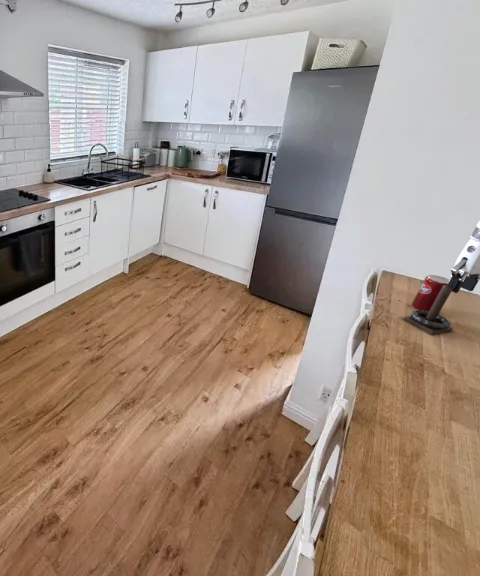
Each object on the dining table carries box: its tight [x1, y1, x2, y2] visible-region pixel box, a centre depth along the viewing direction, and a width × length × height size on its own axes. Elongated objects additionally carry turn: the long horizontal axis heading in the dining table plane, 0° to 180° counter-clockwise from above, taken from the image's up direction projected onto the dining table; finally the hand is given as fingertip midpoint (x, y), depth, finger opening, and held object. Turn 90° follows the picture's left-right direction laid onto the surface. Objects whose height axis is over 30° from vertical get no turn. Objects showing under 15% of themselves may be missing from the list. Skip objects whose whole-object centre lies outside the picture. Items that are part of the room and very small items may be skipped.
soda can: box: [411, 274, 451, 311], centre depth 128 cm, size 7×7×12 cm
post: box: [403, 285, 454, 336], centre depth 118 cm, size 9×9×14 cm
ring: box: [410, 309, 452, 329], centre depth 120 cm, size 10×10×2 cm
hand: (459, 289), depth 116 cm, fingers open, 5 cm apart
